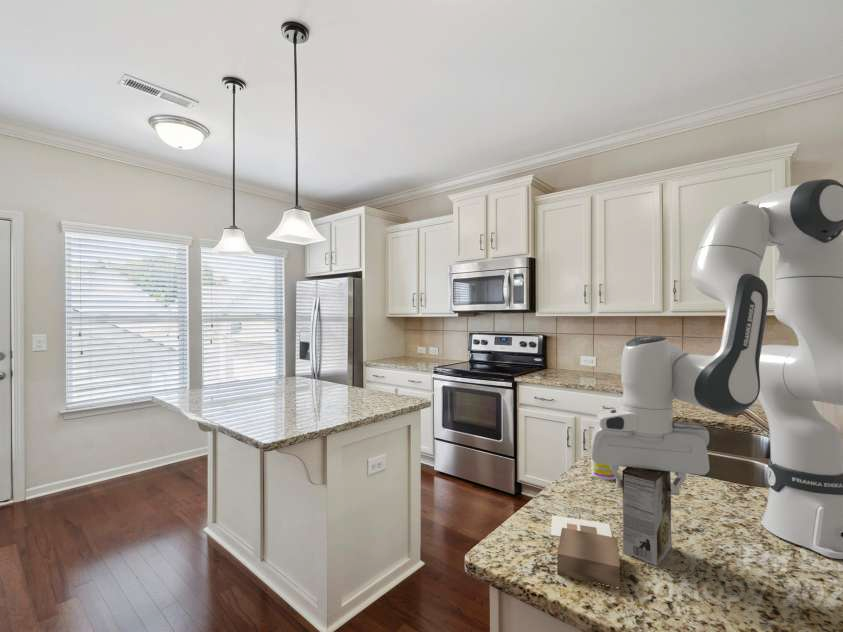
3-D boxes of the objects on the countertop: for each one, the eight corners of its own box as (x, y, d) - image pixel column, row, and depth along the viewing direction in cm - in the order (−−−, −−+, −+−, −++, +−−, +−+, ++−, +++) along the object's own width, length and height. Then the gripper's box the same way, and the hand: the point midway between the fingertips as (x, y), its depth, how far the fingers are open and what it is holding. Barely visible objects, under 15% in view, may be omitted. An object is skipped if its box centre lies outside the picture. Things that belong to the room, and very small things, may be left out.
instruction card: (609, 524, 90) (609, 523, 90) (613, 546, 82) (613, 544, 82) (552, 516, 94) (552, 514, 94) (550, 535, 86) (550, 534, 86)
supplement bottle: (620, 481, 114) (620, 435, 114) (596, 481, 114) (596, 435, 114) (610, 472, 121) (609, 428, 121) (587, 472, 121) (587, 428, 121)
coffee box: (637, 535, 86) (636, 458, 86) (672, 547, 81) (672, 465, 81) (621, 553, 79) (620, 469, 79) (658, 567, 75) (657, 478, 75)
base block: (617, 559, 78) (617, 538, 78) (620, 591, 69) (619, 566, 69) (562, 547, 82) (562, 527, 82) (557, 576, 73) (557, 553, 73)
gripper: (703, 420, 80) (704, 491, 80) (589, 412, 87) (590, 478, 87) (714, 428, 74) (715, 505, 74) (591, 419, 81) (591, 489, 81)
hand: (646, 490), depth 80 cm, fingers closed on coffee box, 8 cm apart
